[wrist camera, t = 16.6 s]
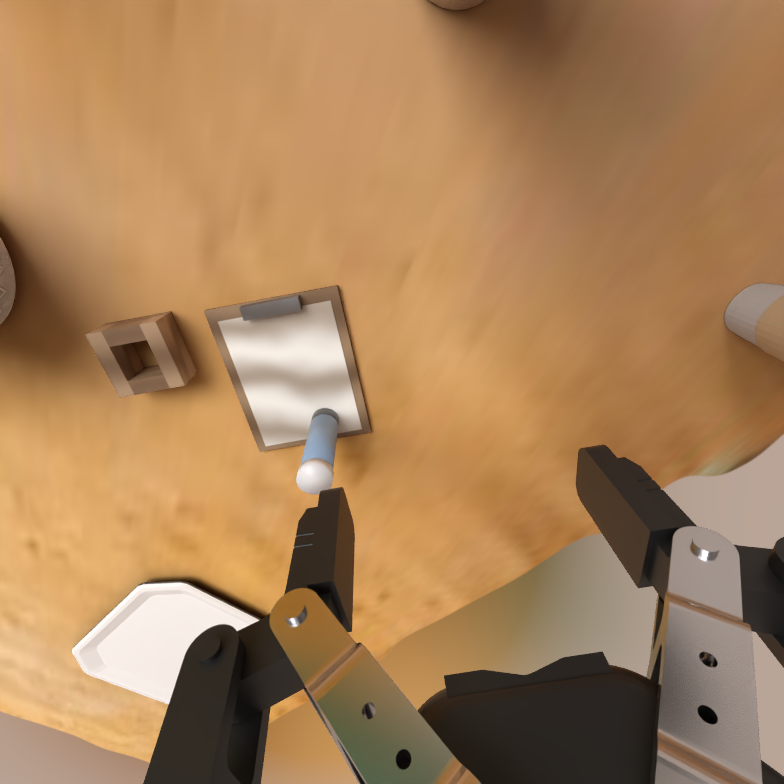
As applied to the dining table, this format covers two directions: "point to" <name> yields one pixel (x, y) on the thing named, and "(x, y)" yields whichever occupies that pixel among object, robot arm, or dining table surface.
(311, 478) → the marker
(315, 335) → the clipboard
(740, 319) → the coffee cup
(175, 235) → the dining table surface
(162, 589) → the plate
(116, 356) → the pen block
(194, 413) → the dining table surface
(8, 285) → the planter
